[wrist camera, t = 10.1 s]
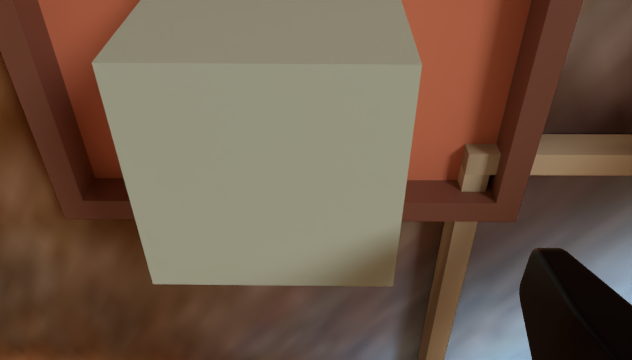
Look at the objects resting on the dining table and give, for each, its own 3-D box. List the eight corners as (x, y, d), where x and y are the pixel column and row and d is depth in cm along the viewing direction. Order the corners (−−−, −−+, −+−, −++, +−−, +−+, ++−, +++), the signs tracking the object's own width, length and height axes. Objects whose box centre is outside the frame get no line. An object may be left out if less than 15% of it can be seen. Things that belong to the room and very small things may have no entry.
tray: (615, -237, 12) (655, -237, 10) (501, 187, 19) (515, 222, 18) (-59, -234, 12) (-110, -235, 11) (84, 185, 19) (65, 219, 18)
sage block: (382, -58, 14) (422, 65, 8) (370, 113, 17) (392, 286, 11) (186, -59, 14) (91, 63, 8) (209, 112, 17) (153, 284, 11)
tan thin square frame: (906, 135, 18) (939, 156, 17) (708, 383, 27) (722, 405, 26) (461, 133, 18) (469, 154, 17) (413, 380, 27) (416, 402, 26)
